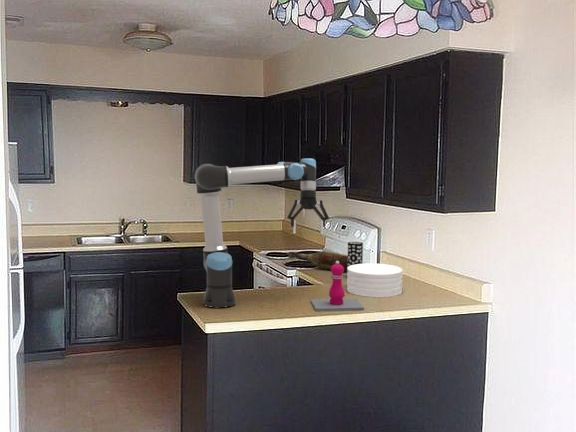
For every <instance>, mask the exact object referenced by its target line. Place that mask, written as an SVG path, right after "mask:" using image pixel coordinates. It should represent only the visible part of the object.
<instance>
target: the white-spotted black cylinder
mask: <svg viewBox="0 0 576 432" xmlns="http://www.w3.org/2000/svg"><path fill="white" fill-rule="evenodd" d="M363 250H364V242H361V241H348V242H347V255H348V262H347V267H348V266H351V265H354V264H363V263H364V262H363V257H364V255H363V254H364V253H363V252H364V251H363ZM347 272H348V271H347ZM347 272H346V273H347ZM346 277H348V276H347V275H346Z"/></svg>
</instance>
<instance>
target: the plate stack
mask: <svg viewBox="0 0 576 432" xmlns="http://www.w3.org/2000/svg"><path fill="white" fill-rule="evenodd" d="M347 271H348V272H346V274H347V275H346V277H347V276H348V277H347V278H346V280H347V282H346V291H347V292H348V293H349V294H353V295H357V296H361V297H367V298H368V297H370V298H387V297H395V296H399V295H400V294H402V292H403V289H402V288H403V271H404V270H403V268H402V267H399V266H397V265H392V264H385V263H372V262H371V263H370V262H368V263H367V262H365V263H364V262H363V263H362V264H354V265H351V266H348V267H347Z"/></svg>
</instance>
